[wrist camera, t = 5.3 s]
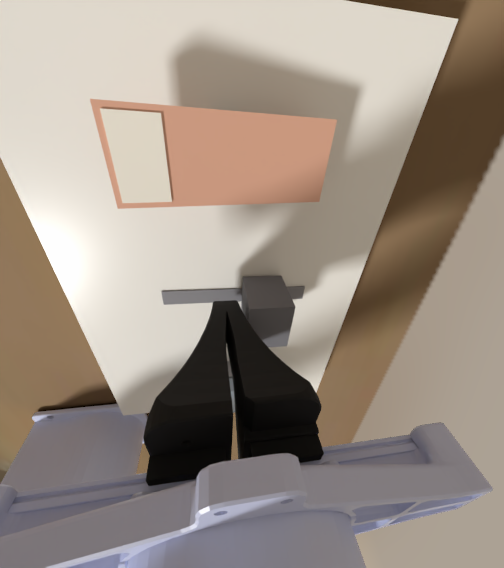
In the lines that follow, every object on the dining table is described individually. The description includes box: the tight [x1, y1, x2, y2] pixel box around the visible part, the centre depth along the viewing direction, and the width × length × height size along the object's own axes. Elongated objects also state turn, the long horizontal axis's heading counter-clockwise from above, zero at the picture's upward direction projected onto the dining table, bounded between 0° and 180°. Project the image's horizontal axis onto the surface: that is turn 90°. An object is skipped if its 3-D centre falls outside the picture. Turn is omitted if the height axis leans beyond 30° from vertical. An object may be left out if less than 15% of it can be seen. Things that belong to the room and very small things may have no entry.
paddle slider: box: [241, 275, 295, 348], centre depth 14 cm, size 2×3×3 cm
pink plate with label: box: [90, 99, 337, 209], centre depth 9 cm, size 8×3×1 cm, turn 86°
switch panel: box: [0, 0, 458, 416], centre depth 15 cm, size 18×26×3 cm
